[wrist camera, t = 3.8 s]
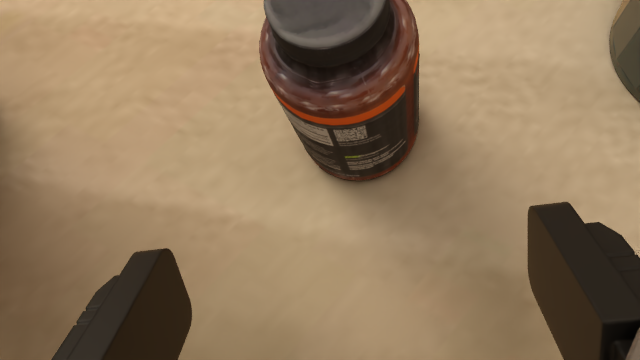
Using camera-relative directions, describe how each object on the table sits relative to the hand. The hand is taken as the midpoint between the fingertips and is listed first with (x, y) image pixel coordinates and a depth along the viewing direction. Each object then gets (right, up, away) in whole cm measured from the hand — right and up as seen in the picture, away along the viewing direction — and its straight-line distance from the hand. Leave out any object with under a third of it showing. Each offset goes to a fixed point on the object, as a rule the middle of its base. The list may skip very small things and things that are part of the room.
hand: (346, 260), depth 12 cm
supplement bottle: (+1, +4, +15) cm, 16 cm away
